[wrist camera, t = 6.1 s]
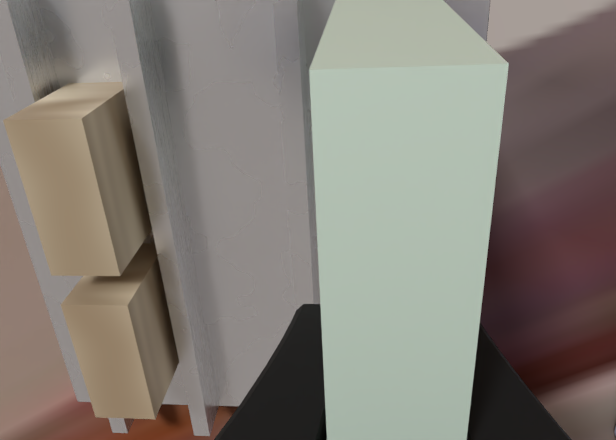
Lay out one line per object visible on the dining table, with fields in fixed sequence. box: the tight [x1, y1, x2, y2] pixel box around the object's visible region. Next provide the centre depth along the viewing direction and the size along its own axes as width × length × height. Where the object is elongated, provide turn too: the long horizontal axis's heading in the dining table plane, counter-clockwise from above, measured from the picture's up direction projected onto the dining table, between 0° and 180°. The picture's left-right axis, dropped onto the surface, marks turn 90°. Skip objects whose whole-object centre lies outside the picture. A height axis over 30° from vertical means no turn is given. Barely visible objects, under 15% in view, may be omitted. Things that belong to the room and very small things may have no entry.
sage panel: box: [309, 0, 509, 440], centre depth 9 cm, size 1×10×8 cm, turn 3°
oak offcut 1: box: [3, 82, 152, 276], centre depth 16 cm, size 2×4×4 cm, turn 3°
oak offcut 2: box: [61, 243, 179, 419], centre depth 19 cm, size 2×4×4 cm, turn 3°
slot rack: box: [0, 0, 490, 436], centre depth 18 cm, size 15×16×2 cm
